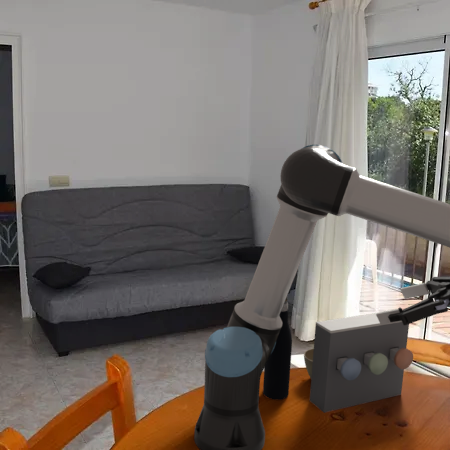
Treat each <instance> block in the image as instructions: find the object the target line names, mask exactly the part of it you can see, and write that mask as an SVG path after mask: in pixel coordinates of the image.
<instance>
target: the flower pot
mask: <svg viewBox="0 0 450 450" xmlns="http://www.w3.org/2000/svg"><path fill="white" fill-rule="evenodd" d="M313 352H314V348H309V349H307V350H305V351H304V352H303V358H304V366H305V369H306V370H307V373H308V376H309V378H310V379H311V377H312V364H313Z"/></svg>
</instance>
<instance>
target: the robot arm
mask: <svg viewBox="0 0 450 450" xmlns="http://www.w3.org/2000/svg"><path fill="white" fill-rule="evenodd" d="M280 170H281V171H280V186H279V189H278V192H277V195H276V200H277V201H278V204H279V209H278V211H277V214H276V217H275V220H274V222H273V225H272V226H271V227H272V228H271V230H270V233H269V235H268V237H267V241H266V243H265V246H264V248H263V251H262V253H261V255H260V259H259V261H258V264H257V267H256V270H255V272H254V274H253V277H252V278H251V282H250V284H249V287H248V290H247V292H246V295H245V298H244V300H243V301H240V302H238V303H236V304H235V305H234V308H233V311H232V313H231V315H230V318H229V320H228V323H227V326H226V327H223V328H222V329H220V328H219V329H217V330H215V331H213V333H211V334H210V336H209V337H208V339H207V341H206V347H205V349H204V359H205V364H204V365H205V366H204V388H203V389H204V390H203V391H204V393H203V406H202V407H201V411H200V414H199V416H198V419H197V421H196V423H195V427H194V439H193V440H194V444H195V445H196V446H197V447H198V449H199V450H262V449H263V448H264V446H265V441H266V428H265V427H264V424H263V418H262V416H261V412H260V408H259V403H260V401H259V400H260V386H261V377H262V374H263V372H264V367H265V365H266V363H267V361H268V358H269V356H270V354H271V353H272V352H273V350H274V348H275V345H276V340H277V337H278V335H279V332H280V329H281V327H282V320H281V318H280V316H279V314H280V312H281V309H282V307H283V304H284V302H285V299H286V297H287V298H288V295H289V294H288V292H289V289H290V287H292V284H293V282H294V279H295V277H296V275H297V272H298V270H299V267H300V265H301V261H302V259H303V257H304V255H305V252H306V249H307V247H308V244H309V242H310V239H311V237H312V235H313V232H314V230H315V227H316V224H317V222H318V221H319V220H321V219H324V218H326V217H327V216H328V214H329V215H333V216H336V217H341V216H342V215H346V214H347V215H350V216H354V217H355V218H360V219H362V220H366V221H369V222H371V223H375V224H377V225H380V226H384V227H386V228H390V229H392V230H397V231H398V232H402V233H404V234H407V235H411V236H414V237H416V238H417V237H418V238H420V239H423V240H426V241H429V242H432V243H435V244H438V245H441V246H444V247H447V248H450V203H447V202H444V201H441V200H438V199H434V198H432V197H429V196H426V195H422V194H419V193H416V192H413V191H410V190H408V189H404V188H400V187H397V186H394V185H392V184H389V183H385V182H383V181H378V180H376V179H373V178H370V177H366V176H364V175H361V174H360V173H359V171H358V170H357V168H356V167H354V166H350V165H346V164H344V163H343V161H342V159H341V157H340V156H339V155H338V153H336V151H334V150H333V149H332V148H329V147H327V145H321V144H310V145H309V144H307V145H305V146H304V147H302V148H299V149H297V150H295V151H294V152H292V153H291V154H290V155H289V156H288V157H287V158H286V159H285V161H284V162H283V164H282V167H281V169H280ZM290 290H291V289H290ZM400 292H401V294H402V296H403V299H404V300H406V299H411V298H417V297H421V296H425V295H428V296H427V298H425V299H424V300H421V301H419V302H417V303H414V304H412V305H409V306H408V307H405V308H402V307H398V308H395V309H391V310H385V311H380V312H376V313H377V314H376V316H377V318H378V320H379V322H380V324H381V325H383V324H388V323H394V322H400V321H402V323H403V325H408V324H409V325H410V324H413V323H415V322H419V321H421V320H424V319H426V318H430V317H432V316H435V315H438V314H442V313H447V312H448V311H449V309H448V308H449V307H450V276H432V278H431V280H427V281H426V282H422V283H418V284H414V285H413V284H412V285H410V286H404V287H401V288H400Z"/></svg>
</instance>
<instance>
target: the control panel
mask: <svg viewBox="0 0 450 450" xmlns="http://www.w3.org/2000/svg"><path fill="white" fill-rule="evenodd" d="M377 313H378V312H375V313H366V314H361V315H353V316H348V317H347V316H345V317H339V318H334V319H333V318H332V319H328V320H327V319H326V320H321V321H315V327H314V328H315V329H314V341H313V349H314V352H313V364H312V377H311V378H310V379H311V380H310V381H311V382H310V393H309V402H310V403H312V404H313V405H314V406H315V407H316V408H318V409H319V410H320V411H321V412H323V414H325V413H329V412H333V411H337V410H341V409H347V408H350V407H355V406H358V405H363V404H368V403H372V402H375V401H379V400H384V399H388V398H392V397H393V398H394V397H398V396H401V395H402V390H403V380H404V371H405V369H400V368H398V367H397V366H396V365H395V364H394V361H393V360H392V359H390V358H389V354H390V349H393V348H399V349H401V348H407V347H408V345H407V344H408V337H409V328H410V324H408V325H403V323H402V321H400V322H394V323H388V324H383V325H381V324H380V322H379V320H378V318H377V316H376V314H377ZM371 352H373V353H374V354H375V353H381V354H383V355H385V356H386V357H387V359H388V365H387V368H386V369H385V371H384V372H383V373H381V374H379V375H376V374H374V373H372V372H371V371H370V370H369V369H368V365H366V364H364V354H366V353H371ZM344 357H346V358H354V359H356V360H358V361H359V362H360V364H361V371H360V374H359V375H358V377H357V378H355V379H354V380H347V379H345V378H344V377H343V376H342V375H341V371H340V370H339V369H337V360H338V359H339V358H344Z"/></svg>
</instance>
